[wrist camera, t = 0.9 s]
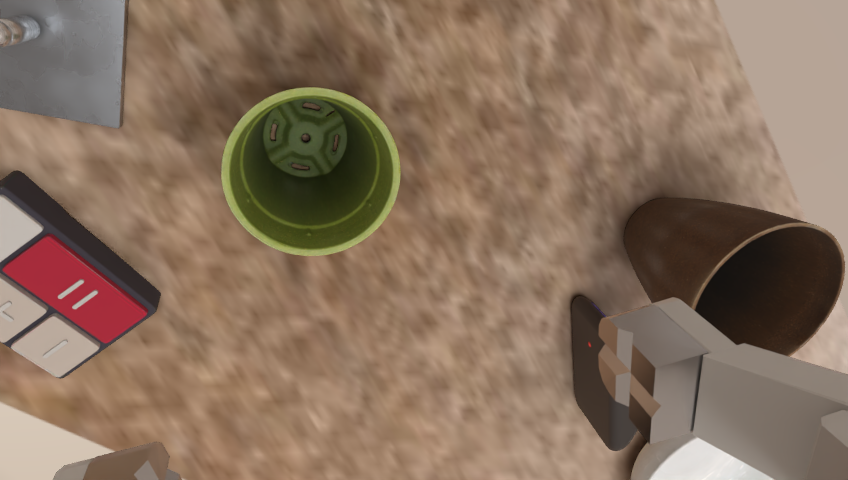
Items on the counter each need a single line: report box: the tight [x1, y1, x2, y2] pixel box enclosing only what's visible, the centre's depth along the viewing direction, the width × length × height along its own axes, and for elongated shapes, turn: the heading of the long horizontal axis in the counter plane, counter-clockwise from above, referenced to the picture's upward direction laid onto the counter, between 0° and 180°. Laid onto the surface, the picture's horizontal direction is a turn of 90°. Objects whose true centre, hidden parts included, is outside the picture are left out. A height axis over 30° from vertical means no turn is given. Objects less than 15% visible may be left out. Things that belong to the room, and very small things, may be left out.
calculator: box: [0, 171, 161, 378], centre depth 45 cm, size 11×4×15 cm
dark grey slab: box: [572, 296, 638, 451], centre depth 61 cm, size 16×5×9 cm, turn 9°
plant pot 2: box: [624, 198, 845, 357], centre depth 53 cm, size 15×15×16 cm
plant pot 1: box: [221, 87, 400, 256], centre depth 42 cm, size 12×12×11 cm
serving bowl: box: [631, 433, 774, 480], centre depth 75 cm, size 21×21×7 cm
